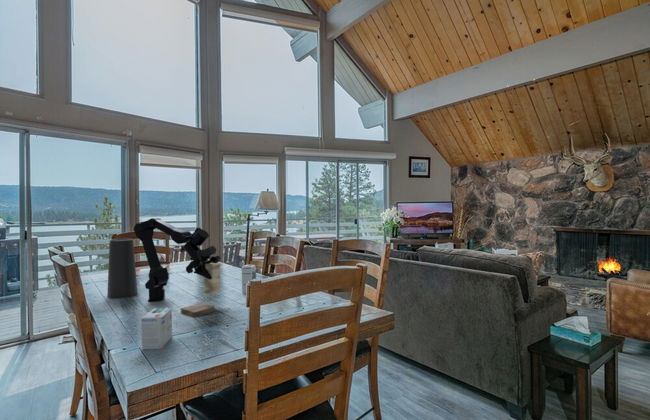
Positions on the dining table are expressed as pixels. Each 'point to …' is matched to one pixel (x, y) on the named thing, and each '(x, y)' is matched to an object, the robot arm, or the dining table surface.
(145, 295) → the dining table surface
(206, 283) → the maple block
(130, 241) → the vase
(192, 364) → the dining table surface
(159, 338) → the light bulb box
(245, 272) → the syrup box
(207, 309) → the walnut block
